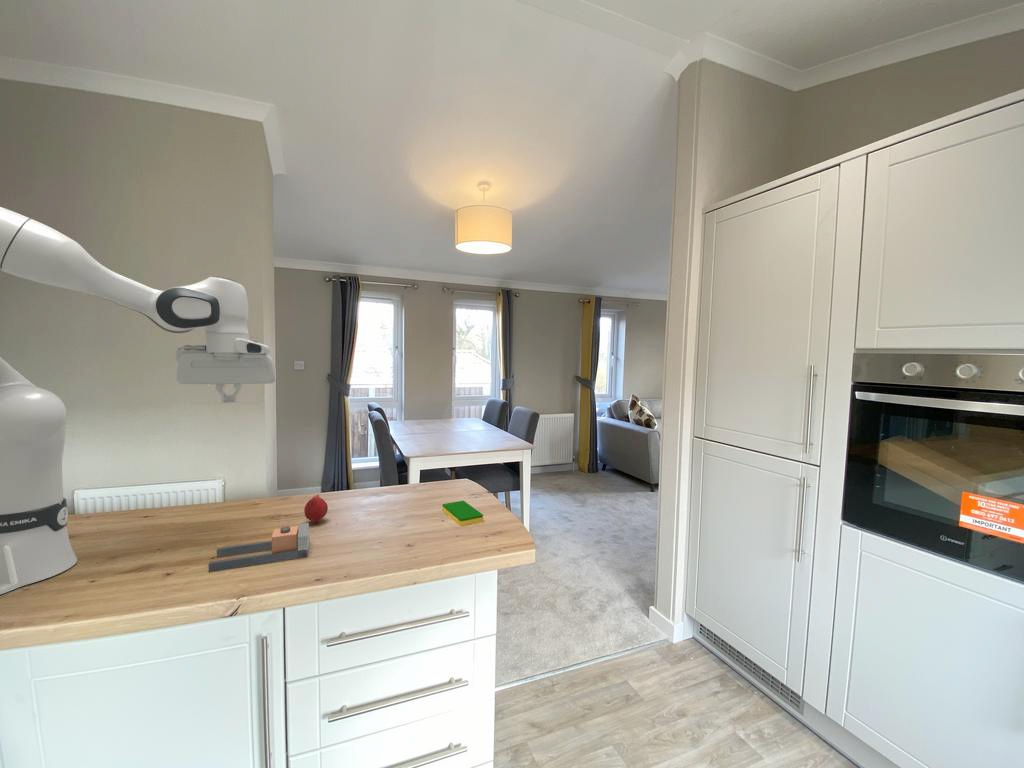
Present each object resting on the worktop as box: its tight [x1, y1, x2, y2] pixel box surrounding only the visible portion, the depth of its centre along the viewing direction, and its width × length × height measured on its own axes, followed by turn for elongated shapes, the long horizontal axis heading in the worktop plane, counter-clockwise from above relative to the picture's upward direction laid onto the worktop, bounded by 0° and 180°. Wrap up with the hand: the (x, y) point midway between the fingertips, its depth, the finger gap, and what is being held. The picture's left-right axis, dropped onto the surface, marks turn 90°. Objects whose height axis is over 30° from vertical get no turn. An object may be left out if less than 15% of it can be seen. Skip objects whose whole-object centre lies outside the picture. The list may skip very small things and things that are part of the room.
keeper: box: [271, 525, 299, 553], centre depth 98 cm, size 5×5×6 cm
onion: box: [303, 493, 329, 524], centre depth 116 cm, size 6×6×8 cm
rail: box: [208, 522, 310, 573], centre depth 96 cm, size 19×8×5 cm, turn 113°
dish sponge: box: [441, 500, 484, 527], centre depth 123 cm, size 7×14×2 cm, turn 31°
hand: (229, 402), depth 104 cm, fingers closed
